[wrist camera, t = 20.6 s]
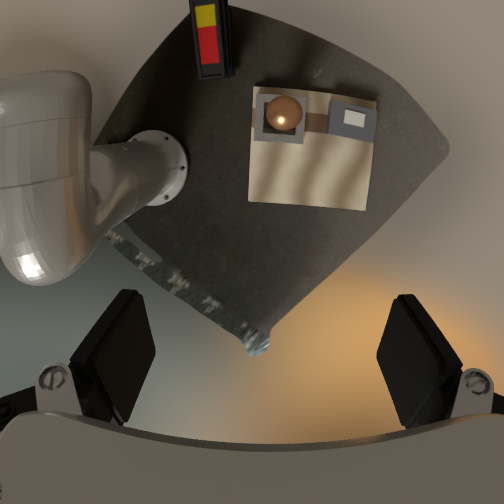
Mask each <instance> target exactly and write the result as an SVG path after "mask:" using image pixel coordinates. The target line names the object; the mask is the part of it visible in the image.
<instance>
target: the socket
mask: <svg viewBox="0 0 504 504" xmlns="http://www.w3.org/2000/svg"><path fill="white" fill-rule="evenodd" d="M277 96H281V95H274V94H256V104H255V124H254V141H266V142H281V143H293V144H303V143H304V127H305V111H306V97H298V96H291V97H293V98H295V99H296V100H297V101H298V102H299V103H300V104H301V106H302V109H303V117H302V120H301V122H300V123H299V124H298V125H297V126H296V127H294V135H284V134H270V133H263V121H264V104H269V102H270V101H271V100H272V99H274V98H275V97H277Z"/></svg>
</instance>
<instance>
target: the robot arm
mask: <svg viewBox="0 0 504 504" xmlns="http://www.w3.org/2000/svg"><path fill="white" fill-rule="evenodd" d="M91 111H92V92H91V87H90V83H89V82H88V80H87V79H86V78H85V77H84V76H83V75H81V74H79V73H76V72H72V71H65V70H50V71H41V72H33V73H27V74H22V75H17V76H12V77H8V78H4V79H0V256H1V258H2V260H3V262H4V264H5V266H6V267H7V269H8V270H9V272H10V273H11V274H12V275H13V276H14V277H15V278H17V279H18V280H20V281H21V282H23V283H26V284H29V285H34V286H43V285H49V284H53V283H56V282H58V281H60V280H62V279H64V278H66V277H67V276H69V275H70V274H72V273H73V272H74V271H76V270H77V269H78V268H79V267H80V266H81V265H82V264H83V263H84V262H85V261H86V259H87V258H88V257H89V256H90V254H91V253H92V252H93V250H94V249H95V247H96V246H97V245H98V243H99V242H100V240H101V239H102V237H103V236H104V235H105V234H106V233H107V232H108V231H109V230H110V229H112V228H113V227H114V226H115V225H117V224H118V223H120V222H121V221H123V220H124V219H126V218H127V217H129V216H130V215H132V214H133V213H134V212H136V211H137V210H139V209H140V208H142V207H143V206H145V205H149V206H156V205H161V204H164V203H166V202H168V201H170V200H172V199H173V198H174V197H175V196H176V195H177V194H178V193H179V192H180V191H181V190H182V188H183V187H184V184H185V182H186V180H187V176H188V166H189V165H188V158H187V155H186V152H185V150H184V148H183V146H182V145H181V143H180V142H179V141H178V140H177V139H176V138H175V137H173V136H172V135H170V134H168V133H166V132H163V131H159V130H148V131H144V132H140V133H138V134H136V135H134V136H133V137H132V138H131V139H129V140H128V142H123V143H116V144H108V145H102V146H95V147H91V148H90V131H91ZM167 137H168V140H167V139H166V138H167ZM136 139H137V141H136ZM182 166H184V167H185V169H183V168H182ZM167 195H168V196H169V197H167ZM155 352H156V351H155V345H154V341H153V337H152V334H151V330H150V326H149V322H148V317H147V313H146V309H145V304H144V300H143V296H142V295H141V294H139V293H138V291H137V290H129V289H122V290H121V291H120V292H119V293H118V295H117V296H116V297H115V298H114V300H113V301H112V302H111V304H110V305H109V306H108V307H107V309H106V310H105V311H104V313H103V314H102V315H101V317H100V318H99V319H98V321H97V322H96V323H95V325H94V326H93V327H92V329H91V330H90V331H89V333H88V334H87V336H86V337H85V338H84V340H83V341H82V342H81V344H80V345H79V347H78V348H77V349H76V351H75V352H74V354H73V355H72V357H71V358H70V361H71V362H70V364H69V365H68V366H67V365H65V364H63V363H50V364H48V365H46V366H44V367H43V368H42V369H40V371H39V372H38V373H37V375H36V377H35V386H32V387H30V388H27V389H24V390H22V391H18V392H16V393H13V394H10V395H7V396H4V397H2V398H0V504H504V397H503V396H501V395H499V394H496V393H494V384H493V381H492V379H491V378H490V376H489V375H488V374H487V373H485V372H484V371H482V370H480V369H476V368H470V369H467V370H465V371H464V372H462V370H461V367H462V366H463V364H462V362H461V361H460V359H459V357H458V356H457V354H456V353H455V351H454V350H453V349H452V347H451V345H450V344H449V342H448V341H447V339H446V338H445V337H444V335H443V334H442V332H441V331H440V330H439V328H438V327H437V325H436V324H435V322H434V321H433V320H432V318H431V317H430V315H429V314H428V313H427V311H426V310H425V309H424V307H423V306H422V305H421V304H420V302H419V301H418V299H417V298H416V297H415V296H414V295H413V294H402V295H399V296H398V297H397V299H394V301H393V303H392V307H391V310H390V313H389V317H388V320H387V324H386V326H385V329H384V333H383V336H382V338H381V342H380V345H379V347H378V350H377V361H378V364H379V366H380V369H381V371H382V374H383V376H384V379H385V382H386V384H387V387H388V390H389V392H390V395H391V397H392V400H393V403H394V405H395V409H396V411H397V414H398V417H399V420H400V423H401V425H402V426H405V428H406V430H401V431H396V432H391V433H386V434H381V435H375V436H369V437H362V438H355V439H348V440H339V441H328V442H316V443H298V444H246V443H229V442H228V443H227V442H216V441H206V440H197V439H189V438H182V437H175V436H169V435H163V434H158V433H152V432H148V431H143V430H138V429H133V428H129V427H124V426H123V423H124V422H127V421H128V420H129V418H130V415H131V413H132V410H133V408H134V405H135V403H136V400H137V398H138V395H139V393H140V390H141V388H142V385H143V383H144V380H145V378H146V376H147V373H148V371H149V369H150V366H151V364H152V362H153V359H154V357H155Z"/></svg>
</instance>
